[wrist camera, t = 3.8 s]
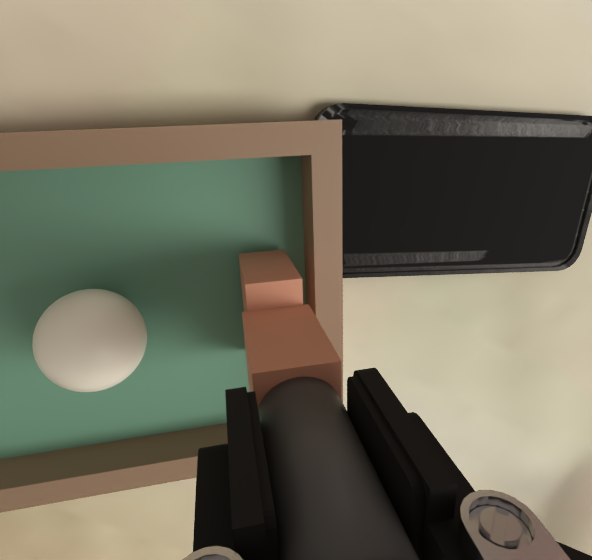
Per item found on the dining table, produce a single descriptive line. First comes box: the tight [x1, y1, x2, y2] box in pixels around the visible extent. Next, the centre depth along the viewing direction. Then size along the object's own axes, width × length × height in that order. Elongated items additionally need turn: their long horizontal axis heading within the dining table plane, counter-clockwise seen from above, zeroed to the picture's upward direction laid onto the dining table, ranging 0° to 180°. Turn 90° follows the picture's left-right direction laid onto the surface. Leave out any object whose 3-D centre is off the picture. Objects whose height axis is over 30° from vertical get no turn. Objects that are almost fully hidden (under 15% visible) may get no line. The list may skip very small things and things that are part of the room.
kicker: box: [238, 249, 419, 560], centre depth 13 cm, size 5×2×13 cm, turn 3°
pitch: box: [0, 119, 343, 512], centre depth 16 cm, size 15×24×5 cm, turn 92°
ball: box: [32, 289, 147, 392], centre depth 16 cm, size 4×4×4 cm
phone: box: [315, 103, 592, 278], centre depth 20 cm, size 8×1×15 cm
